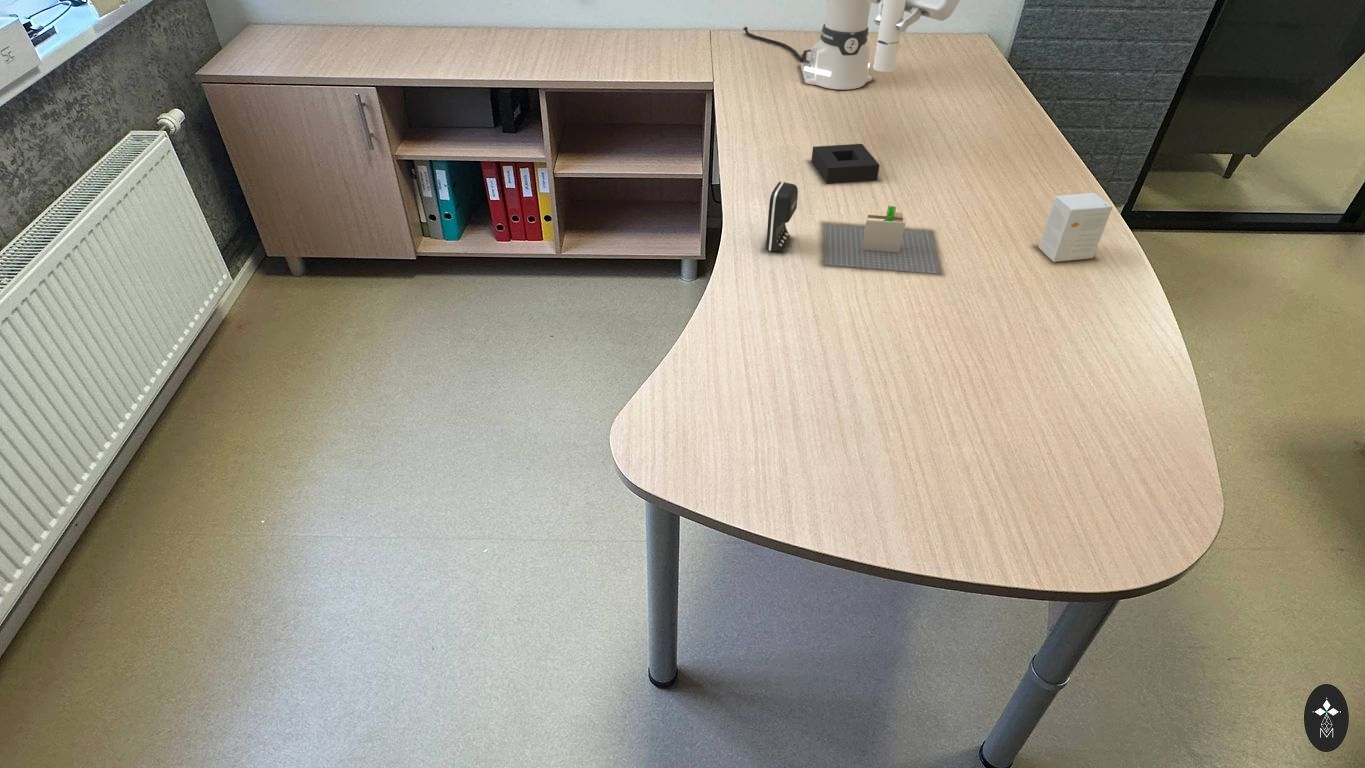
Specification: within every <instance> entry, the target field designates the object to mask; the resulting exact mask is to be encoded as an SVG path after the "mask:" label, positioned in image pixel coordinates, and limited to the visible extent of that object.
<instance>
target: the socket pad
mask: <svg viewBox="0 0 1365 768" xmlns="http://www.w3.org/2000/svg"><path fill="white" fill-rule="evenodd" d="M810 161H811V162H810V163H812V165H813V166H814V168H815V170H816V171H817V172H818V174H819V175H820V176H821V178H822V179H823V181H824V182H825V184H840V183H841V184H843V183H855V182H870V181H871V182H872V181H878V177H879V171H880V164H879V162H878V161H877V160H876V158H875V157H874V156H873V155H872V154H871V153H870V152H869V150H868V149H867V148H866V147H865V146H864V144H863V143H852V144H851V143H850V144H835V145H833V144H832V145H819V146H812V153H811V160H810Z"/></svg>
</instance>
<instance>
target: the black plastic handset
mask: <svg viewBox="0 0 1365 768" xmlns="http://www.w3.org/2000/svg"><path fill="white" fill-rule="evenodd" d="M798 196H799V189H798V186H797V185H796V184H794V183H790V182H785V181H778V182H777V184H776V185H775V187H774V188H773V190H772V191H771V195H770V197H769V206H768V217H767V228H766V229H767V230H766V239H765V240H766V241H765V250H768V251H769V252H783V250H785V247H786V246H787V244H788V243H789V241H790V238H791V235H790V234H789V232H788V229H787V225H786V224H787V223H789V222H790V221H791V219H792V217H793V215H794V214H795V212H796V210H797V209H798V198H799V197H798Z"/></svg>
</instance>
